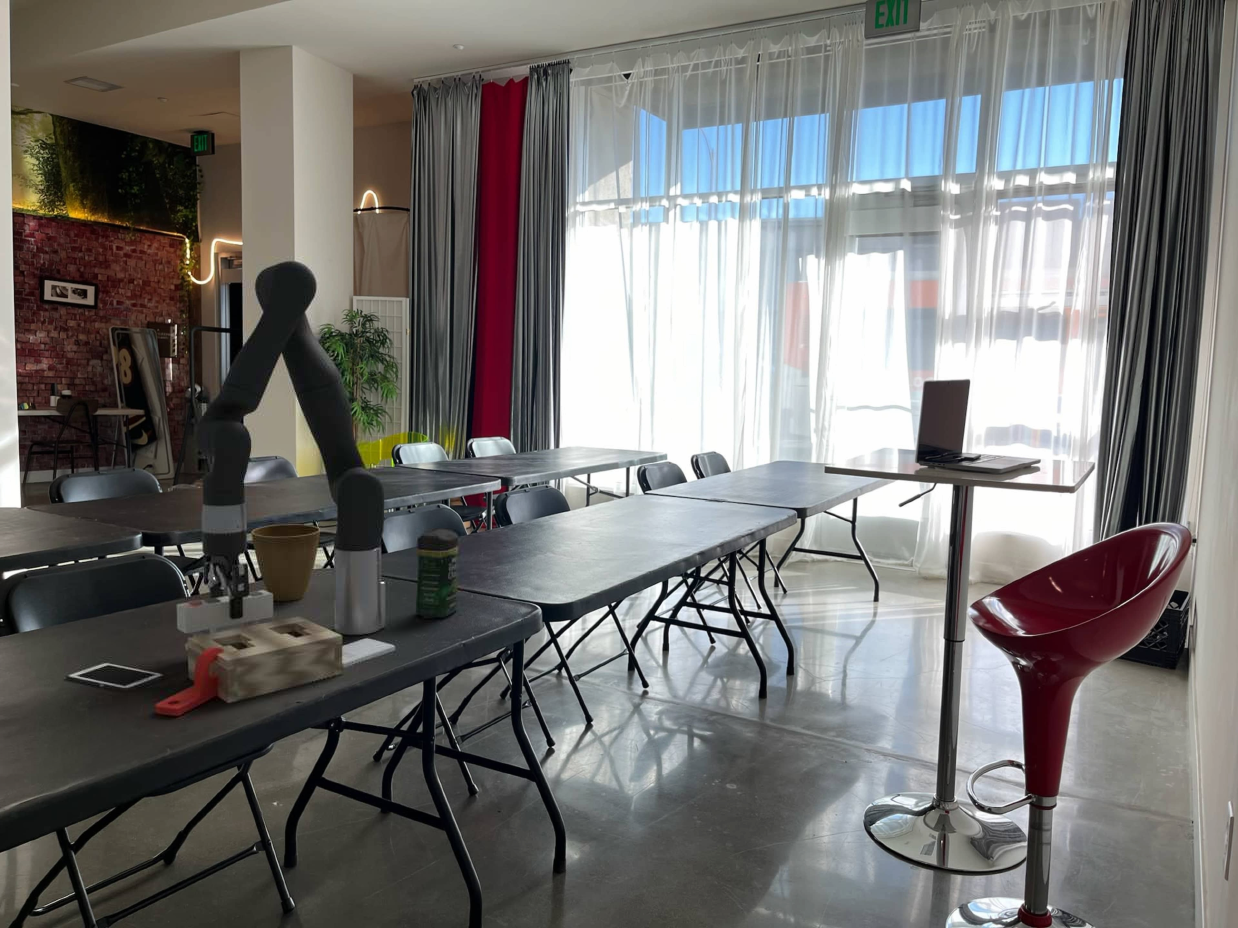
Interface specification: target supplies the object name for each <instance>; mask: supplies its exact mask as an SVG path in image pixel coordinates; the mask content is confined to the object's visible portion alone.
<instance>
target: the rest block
mask: <svg viewBox="0 0 1238 928" xmlns="http://www.w3.org/2000/svg"><path fill="white" fill-rule="evenodd" d="M244 623H245V622H244ZM244 623H239V624H234V625H229V626H224V627H218V628H213V629H209V634H211V633H216V632H221V631H226V630H231V629H237V628H242V627H245V626H244V625H245V624H244Z"/></svg>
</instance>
